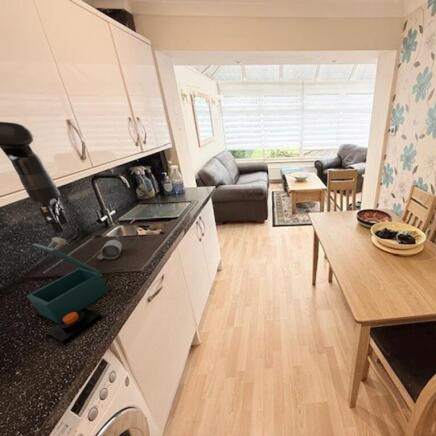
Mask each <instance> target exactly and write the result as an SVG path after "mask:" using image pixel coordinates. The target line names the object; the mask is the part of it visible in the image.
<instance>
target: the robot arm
mask: <svg viewBox="0 0 436 436" xmlns="http://www.w3.org/2000/svg"><path fill="white" fill-rule="evenodd" d="M33 141H34V133H33V132H32V130H31V129H29V128H28V127H27V126H25V125H23V124H20V123H16V122H8V121H0V150H2V152H3V153H4V154H5V156H6V157H7V158H8V159H9V161H10V162H11V164H12V166H13V168H14V170H15V172H16V174H17V175H18V177H19V180H20V182H21V184H22V186H23V188H24V190H25V192H26V194H27V195H28V198H29V199H30V200H31V202H33V203H41V204H40V205H41V206H40V207H38V211H39V212H40V214H41V215H42V217H43V219H44V221H45V224H47V225H50V226H51V227H52V230H53V231H54V233H56V234H58V233H59V234H60V233H63V232H64V231H65V229H64V227H63V225H65V224H68V223H69V220H68V218H67V217H66V215H65V210H66V209H65V207H64V205H63V203H62V201H61V200H60V198H59V197H60V196H61V193H60V190H59V189H58V186H57V184H56V183H55V180H54V179H53V177H52V175H51V174H50V172H49V170H48V169H47V167H46V165H45V163H44V161H43V159H42V158H41V156H39V154H37V153H35V151H34V150H33V148H32V147H31V144H32V143H33Z"/></svg>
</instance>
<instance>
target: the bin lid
mask: <svg viewBox="0 0 436 436" xmlns="http://www.w3.org/2000/svg"><path fill="white" fill-rule="evenodd" d="M55 244H56V245H55ZM66 244H67V239H65V238H62V237H58V236H54V237H52V238H51V242H50V244H48V246H46V245H42V244H39V243H36V242H34V243H33V244H32V246H34V247H35V248H38V249H40V250H42V251H44V252H46V253H48V254H51V255H53V256H54V257H56V258H59V259H61V260H63V261H65V262H67V263H69V264H71V265H73V266H76V267H77V268H83V269H86V270H89V271H92V272H96V273H100V274H101V270H98V269H96V268H94V267H93V266H91V265H88V264H86V263H84V262H82V261H80V260H78V259H76V258H74V257H71V256H70V255H68V254H66V253H64V252H62V251H60V250H59V248H60V247H61V246H63V245H66ZM54 245H55V246H54ZM53 246H54V248H53Z"/></svg>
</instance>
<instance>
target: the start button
mask: <svg viewBox="0 0 436 436" xmlns="http://www.w3.org/2000/svg"><path fill="white" fill-rule="evenodd" d="M78 318H79V316H78V314H77V313H76V312H72V313H69V314H67V315H66V316H65V317H64V318H63V321H64V323H65V324H71V323H73V322H75V321H76V320H77V319H78Z"/></svg>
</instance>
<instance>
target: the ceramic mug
mask: <svg viewBox="0 0 436 436" xmlns="http://www.w3.org/2000/svg"><path fill="white" fill-rule="evenodd" d="M122 248H123V245H122V243H121V242H120V241H119V240H116V239H110V240H108V241H106V242H105V243H104V245H103V246H102V248H101V250H100V253H99V255H97V259H98V260H99V261H100V260H103V259H106V260H114V259H117V258H119V256H120V255H121V252H122Z"/></svg>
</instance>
